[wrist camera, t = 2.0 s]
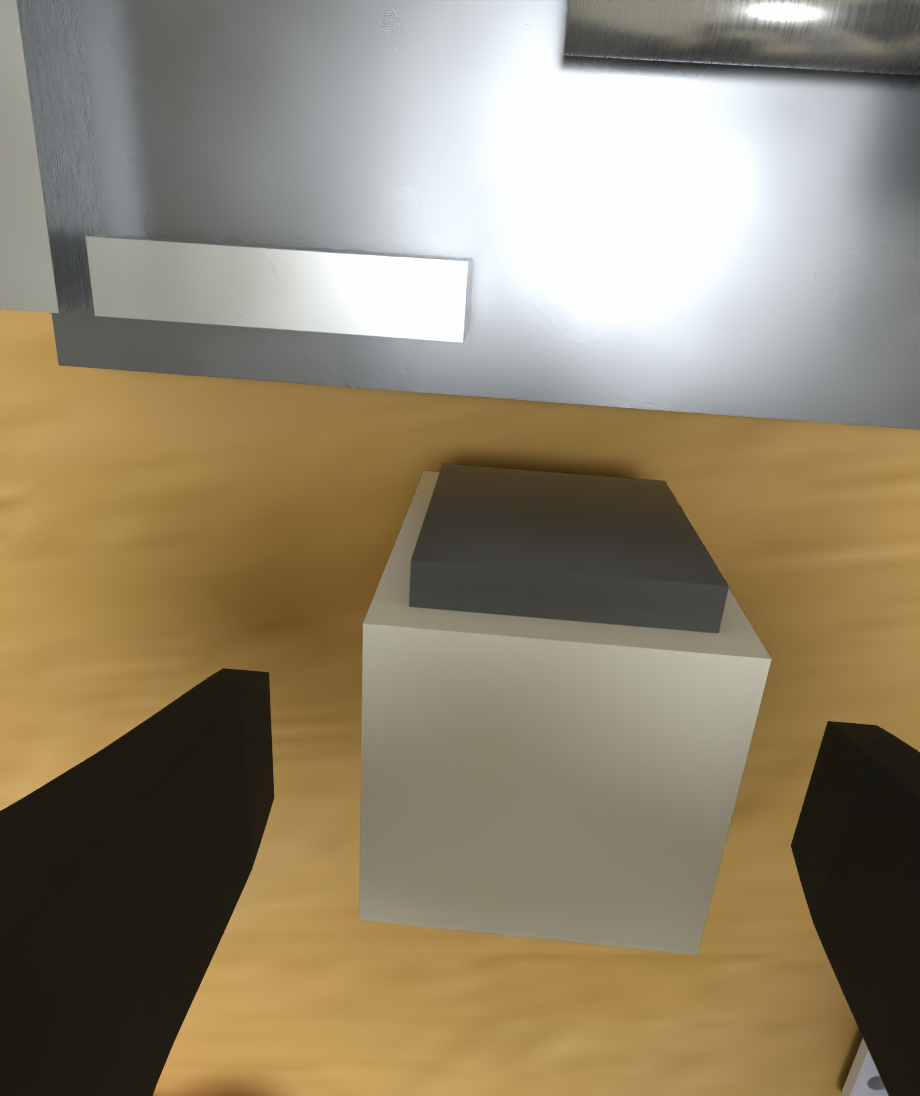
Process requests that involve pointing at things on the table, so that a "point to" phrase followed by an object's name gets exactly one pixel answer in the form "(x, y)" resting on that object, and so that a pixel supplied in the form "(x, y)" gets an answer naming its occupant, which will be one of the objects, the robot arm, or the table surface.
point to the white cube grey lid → (552, 712)
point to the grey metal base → (476, 197)
